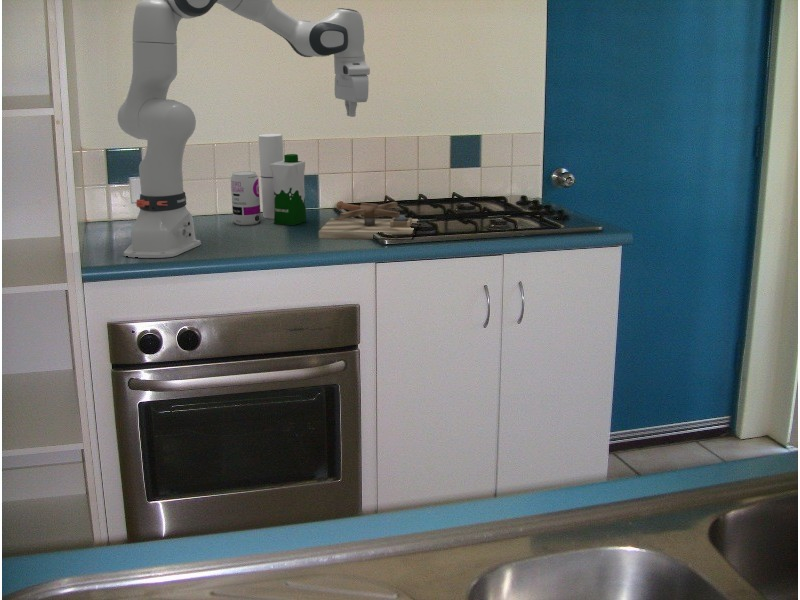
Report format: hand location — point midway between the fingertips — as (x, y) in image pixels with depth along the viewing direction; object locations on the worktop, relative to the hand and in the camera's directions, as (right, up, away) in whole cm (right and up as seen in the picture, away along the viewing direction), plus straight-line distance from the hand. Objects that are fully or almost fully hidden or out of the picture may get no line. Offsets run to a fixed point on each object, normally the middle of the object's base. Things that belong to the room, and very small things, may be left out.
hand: (351, 116), depth 268 cm
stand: (+6, -34, -6) cm, 35 cm away
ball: (+15, -31, -8) cm, 35 cm away
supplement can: (-32, -31, +9) cm, 45 cm away
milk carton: (-19, -31, +8) cm, 37 cm away
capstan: (+5, -29, -7) cm, 31 cm away
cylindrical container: (-25, -28, +18) cm, 41 cm away
